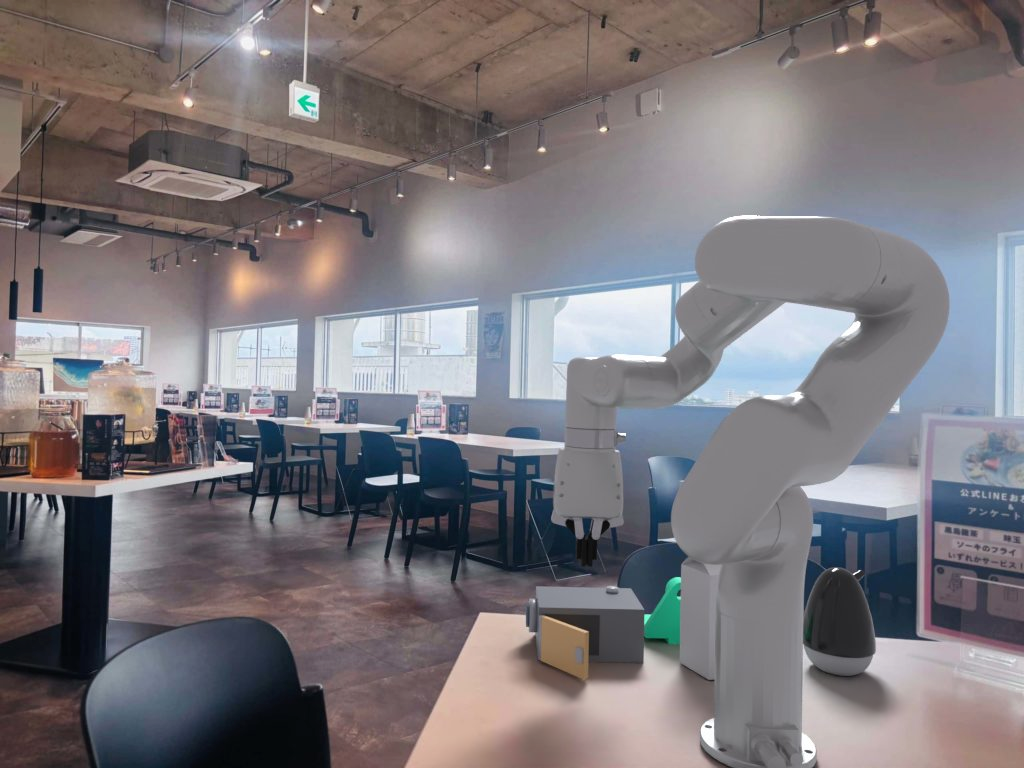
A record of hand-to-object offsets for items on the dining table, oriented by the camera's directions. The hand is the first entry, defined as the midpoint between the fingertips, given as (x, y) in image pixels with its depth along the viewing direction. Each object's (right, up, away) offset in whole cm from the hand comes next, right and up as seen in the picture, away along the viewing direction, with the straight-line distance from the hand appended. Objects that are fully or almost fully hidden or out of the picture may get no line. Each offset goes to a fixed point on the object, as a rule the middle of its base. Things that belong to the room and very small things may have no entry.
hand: (585, 564), depth 104 cm
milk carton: (+19, -16, 0) cm, 25 cm away
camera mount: (+17, -16, +15) cm, 28 cm away
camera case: (+1, -16, +8) cm, 18 cm away
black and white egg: (+38, -16, +1) cm, 41 cm away
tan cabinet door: (-4, -15, -2) cm, 15 cm away
